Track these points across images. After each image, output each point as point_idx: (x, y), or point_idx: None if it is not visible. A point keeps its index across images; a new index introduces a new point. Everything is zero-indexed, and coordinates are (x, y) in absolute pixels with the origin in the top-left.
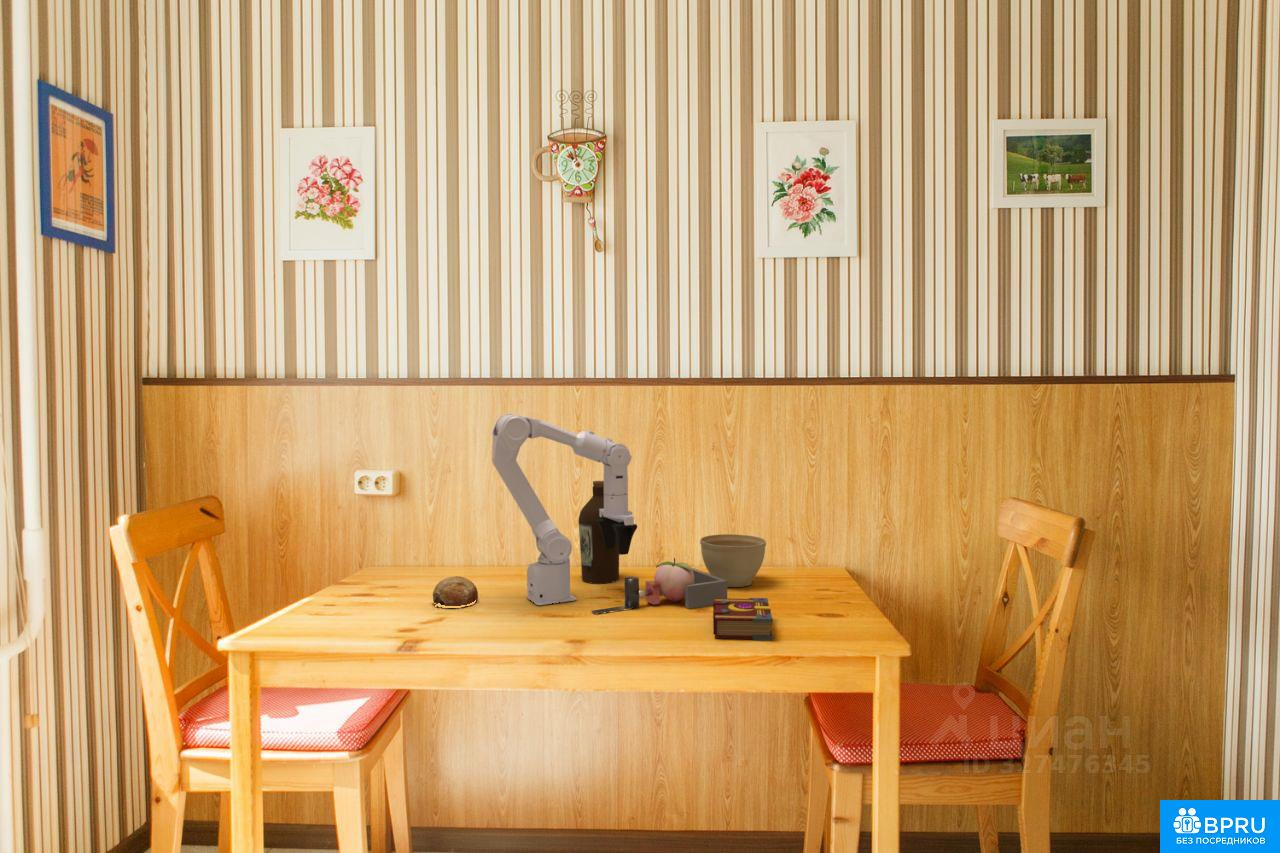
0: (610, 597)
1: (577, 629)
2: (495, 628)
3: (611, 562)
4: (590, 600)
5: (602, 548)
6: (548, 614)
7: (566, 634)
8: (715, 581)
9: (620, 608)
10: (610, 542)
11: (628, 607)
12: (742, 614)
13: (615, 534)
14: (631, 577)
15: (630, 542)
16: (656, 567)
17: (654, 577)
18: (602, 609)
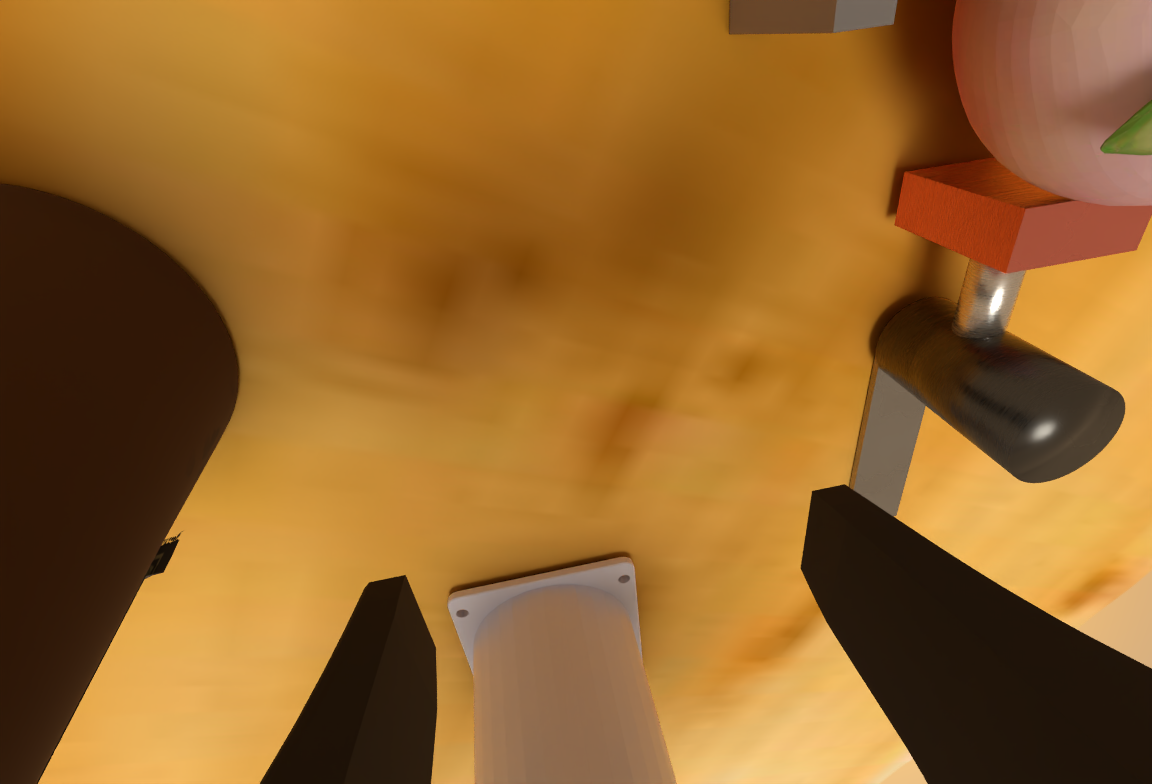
0: (641, 392)
1: (995, 580)
2: (810, 749)
3: (122, 384)
4: (649, 496)
5: (89, 610)
6: (765, 646)
7: None
8: None
9: (908, 402)
10: (407, 690)
11: None
12: None
13: (345, 777)
14: (1044, 431)
15: (1007, 591)
16: (1105, 143)
17: (1096, 202)
18: (862, 480)
